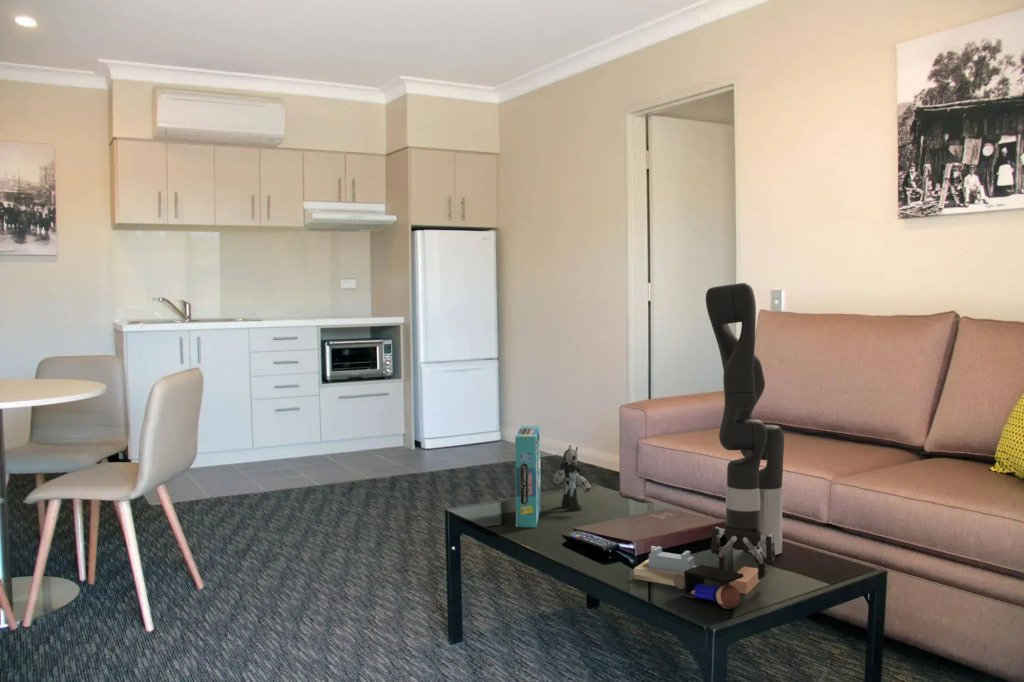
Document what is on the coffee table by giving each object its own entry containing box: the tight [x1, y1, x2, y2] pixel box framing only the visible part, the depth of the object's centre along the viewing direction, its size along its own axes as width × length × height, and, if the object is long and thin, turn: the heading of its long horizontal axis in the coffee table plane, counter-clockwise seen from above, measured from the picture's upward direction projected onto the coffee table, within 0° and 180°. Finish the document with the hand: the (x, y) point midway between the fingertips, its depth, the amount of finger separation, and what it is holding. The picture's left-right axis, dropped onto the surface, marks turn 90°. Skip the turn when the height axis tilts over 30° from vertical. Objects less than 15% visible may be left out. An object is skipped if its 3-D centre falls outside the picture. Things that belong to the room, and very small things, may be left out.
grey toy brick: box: [648, 545, 695, 573], centre depth 199 cm, size 3×10×6 cm, turn 58°
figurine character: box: [673, 564, 744, 610], centre depth 184 cm, size 7×8×15 cm
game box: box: [514, 425, 542, 528], centre depth 256 cm, size 20×6×27 cm, turn 175°
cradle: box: [633, 558, 698, 587], centre depth 200 cm, size 9×14×2 cm, turn 57°
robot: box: [552, 444, 592, 512], centre depth 269 cm, size 20×5×20 cm, turn 29°
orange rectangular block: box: [728, 565, 761, 595], centre depth 194 cm, size 11×4×3 cm, turn 148°
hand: (742, 575), depth 194 cm, fingers open, 8 cm apart
